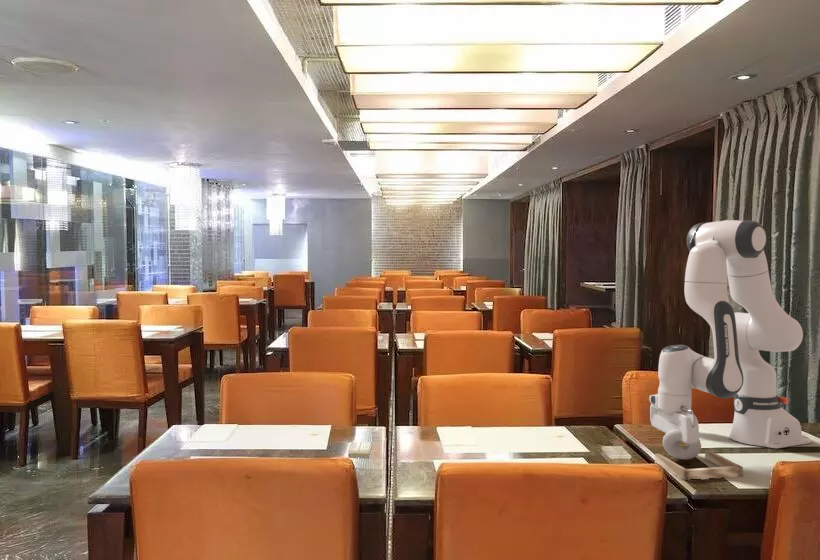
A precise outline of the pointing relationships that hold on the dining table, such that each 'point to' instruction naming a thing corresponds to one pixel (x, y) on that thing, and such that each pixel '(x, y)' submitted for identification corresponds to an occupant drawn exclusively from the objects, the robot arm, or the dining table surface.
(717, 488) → the dining table surface
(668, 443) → the donut
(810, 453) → the dining table surface
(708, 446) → the dining table surface
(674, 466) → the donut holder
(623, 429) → the dining table surface
